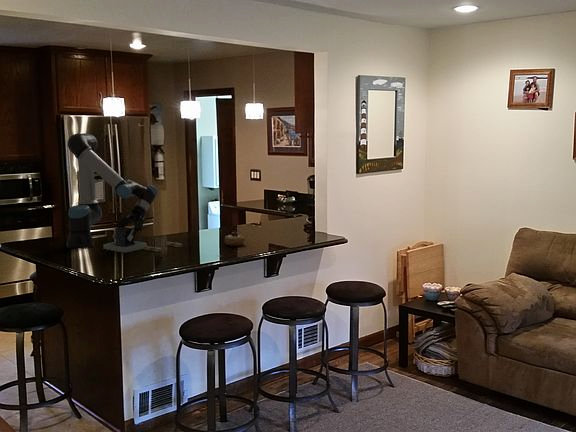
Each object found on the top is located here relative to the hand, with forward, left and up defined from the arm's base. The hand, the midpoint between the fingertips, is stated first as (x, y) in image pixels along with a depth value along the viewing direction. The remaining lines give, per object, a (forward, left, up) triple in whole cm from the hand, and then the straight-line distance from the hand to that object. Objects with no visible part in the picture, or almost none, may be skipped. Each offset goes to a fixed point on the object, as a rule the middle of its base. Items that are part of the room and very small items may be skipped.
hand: (121, 238), depth 353 cm
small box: (0, +3, -5) cm, 6 cm away
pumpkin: (+44, +48, -6) cm, 65 cm away
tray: (0, +3, -6) cm, 7 cm away
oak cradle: (+17, +16, -6) cm, 24 cm away
